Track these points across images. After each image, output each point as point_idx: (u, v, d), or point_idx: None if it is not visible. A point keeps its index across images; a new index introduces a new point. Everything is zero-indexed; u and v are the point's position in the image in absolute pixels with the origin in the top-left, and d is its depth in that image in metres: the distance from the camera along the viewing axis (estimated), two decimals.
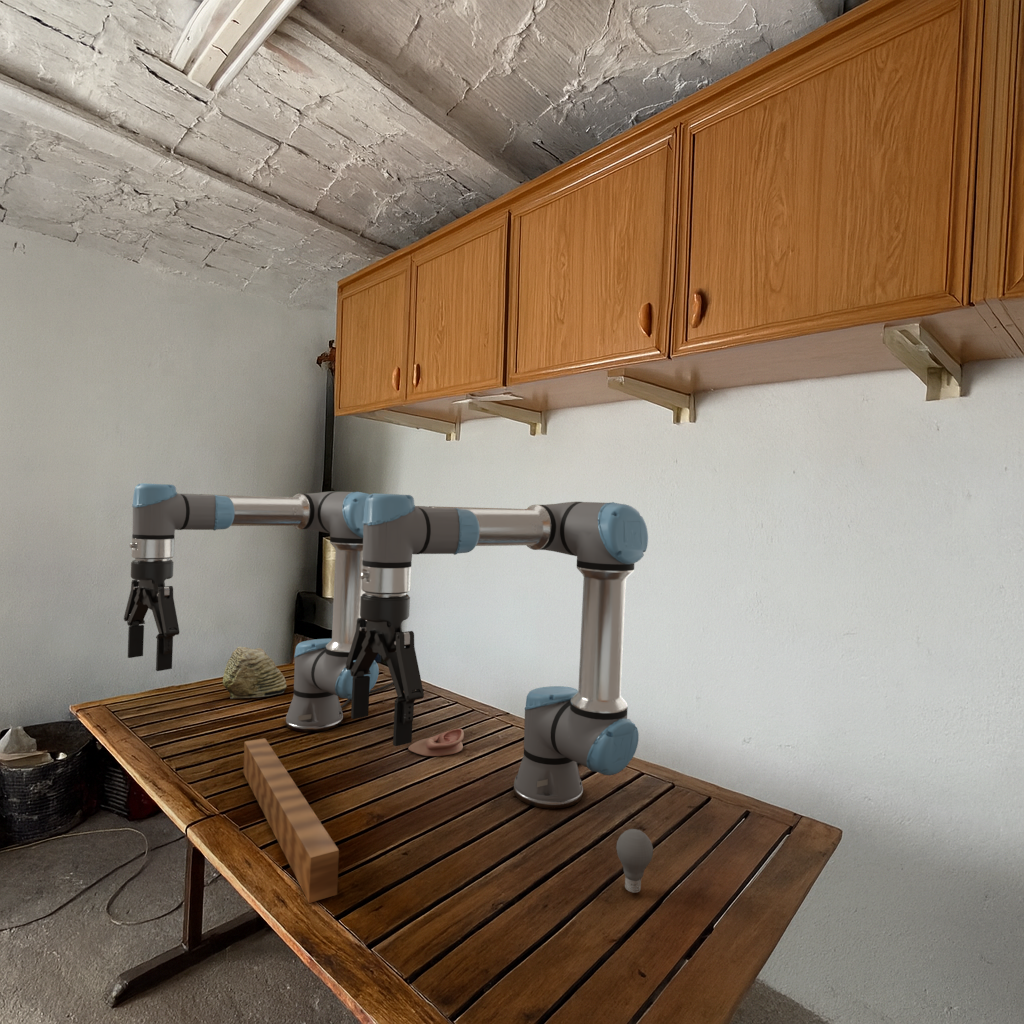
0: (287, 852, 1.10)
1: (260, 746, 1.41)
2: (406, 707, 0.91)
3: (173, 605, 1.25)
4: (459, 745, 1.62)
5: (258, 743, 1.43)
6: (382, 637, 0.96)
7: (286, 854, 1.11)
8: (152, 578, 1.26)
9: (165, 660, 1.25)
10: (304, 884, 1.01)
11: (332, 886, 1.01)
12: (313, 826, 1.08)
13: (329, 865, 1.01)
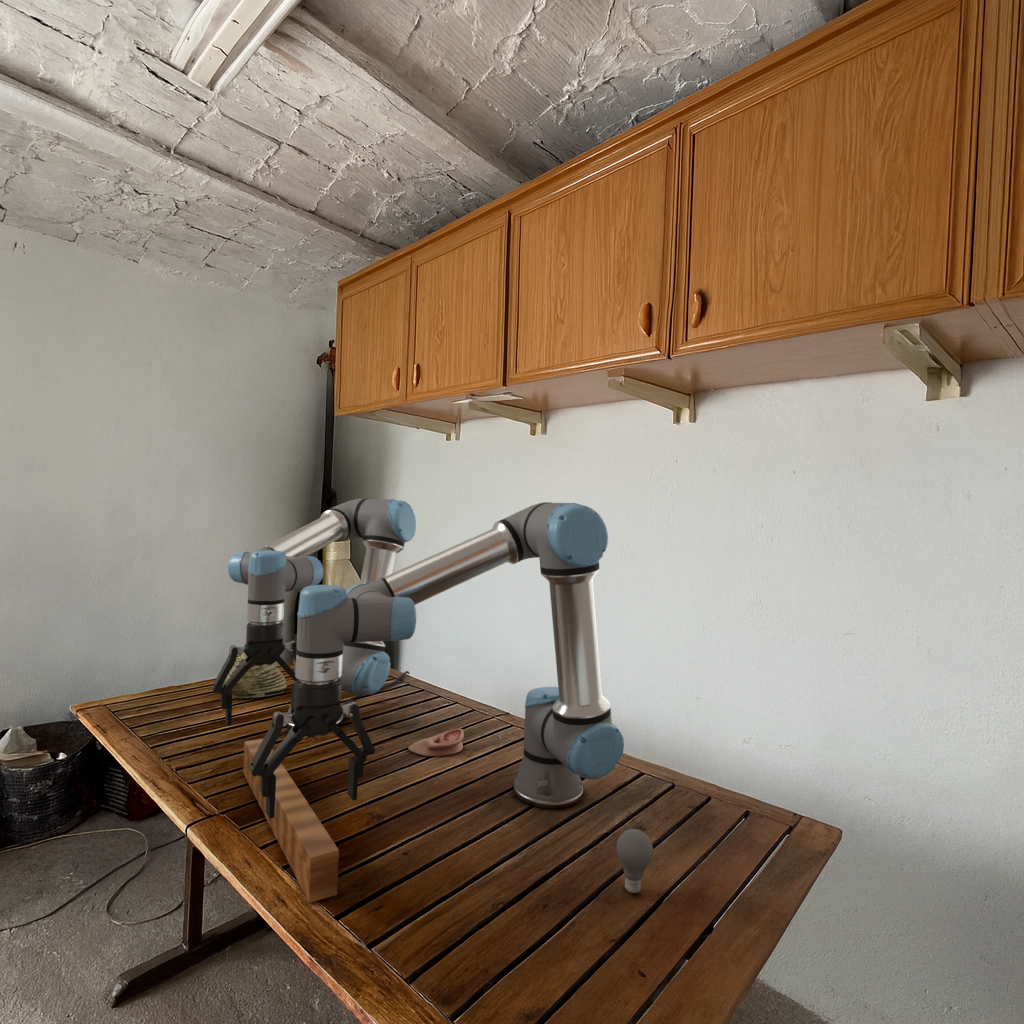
0: (287, 852, 1.10)
1: None
2: (363, 762, 1.10)
3: None
4: (459, 745, 1.62)
5: (258, 743, 1.43)
6: (330, 717, 1.05)
7: (286, 854, 1.11)
8: (282, 637, 1.39)
9: None
10: (304, 884, 1.01)
11: (332, 886, 1.01)
12: (313, 826, 1.08)
13: (329, 865, 1.01)
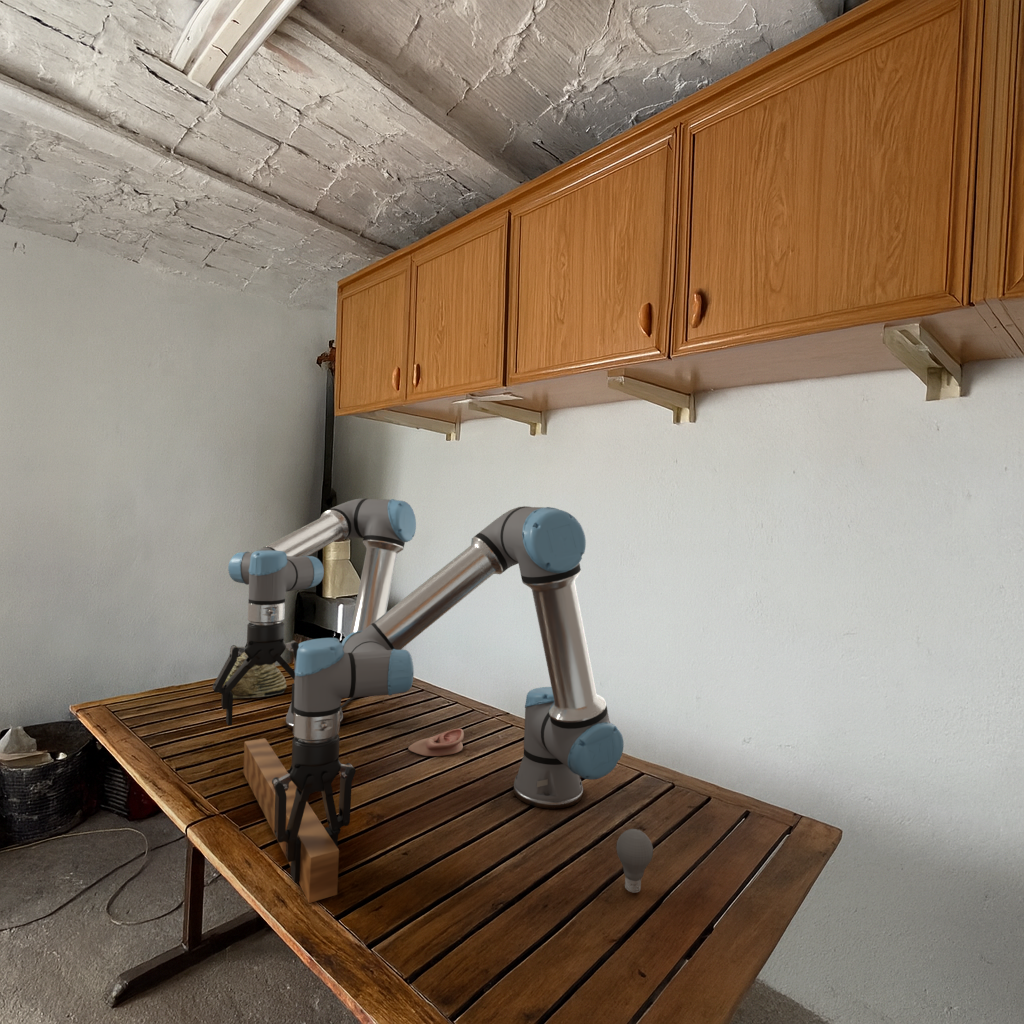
0: None
1: (260, 746, 1.41)
2: (337, 833, 1.08)
3: None
4: (459, 745, 1.62)
5: (258, 742, 1.43)
6: (328, 775, 1.06)
7: None
8: (283, 637, 1.39)
9: None
10: (304, 884, 1.01)
11: (332, 886, 1.01)
12: (313, 826, 1.08)
13: (329, 865, 1.01)
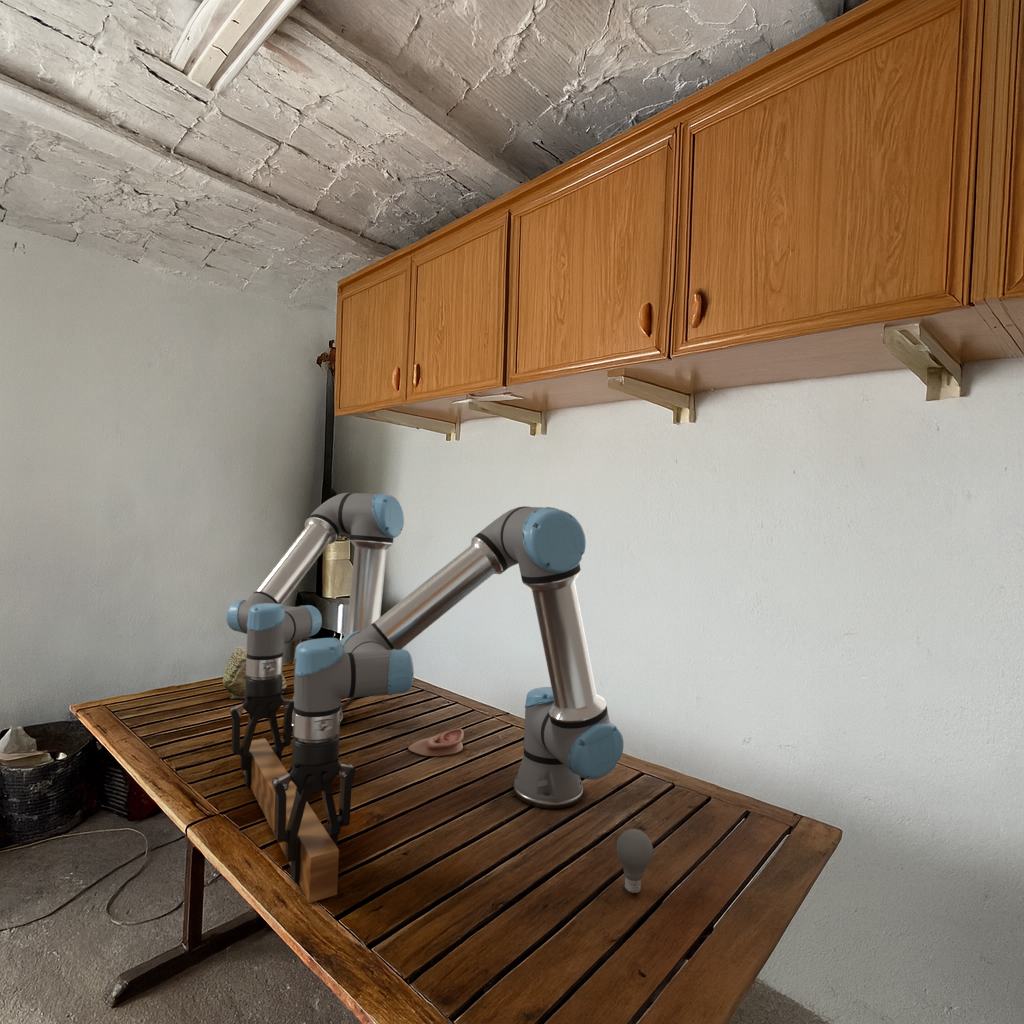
0: None
1: (260, 746, 1.41)
2: (337, 833, 1.08)
3: None
4: (459, 745, 1.62)
5: (258, 742, 1.43)
6: (328, 775, 1.06)
7: None
8: (281, 690, 1.39)
9: None
10: (304, 884, 1.01)
11: (332, 886, 1.01)
12: (313, 826, 1.08)
13: (329, 865, 1.01)
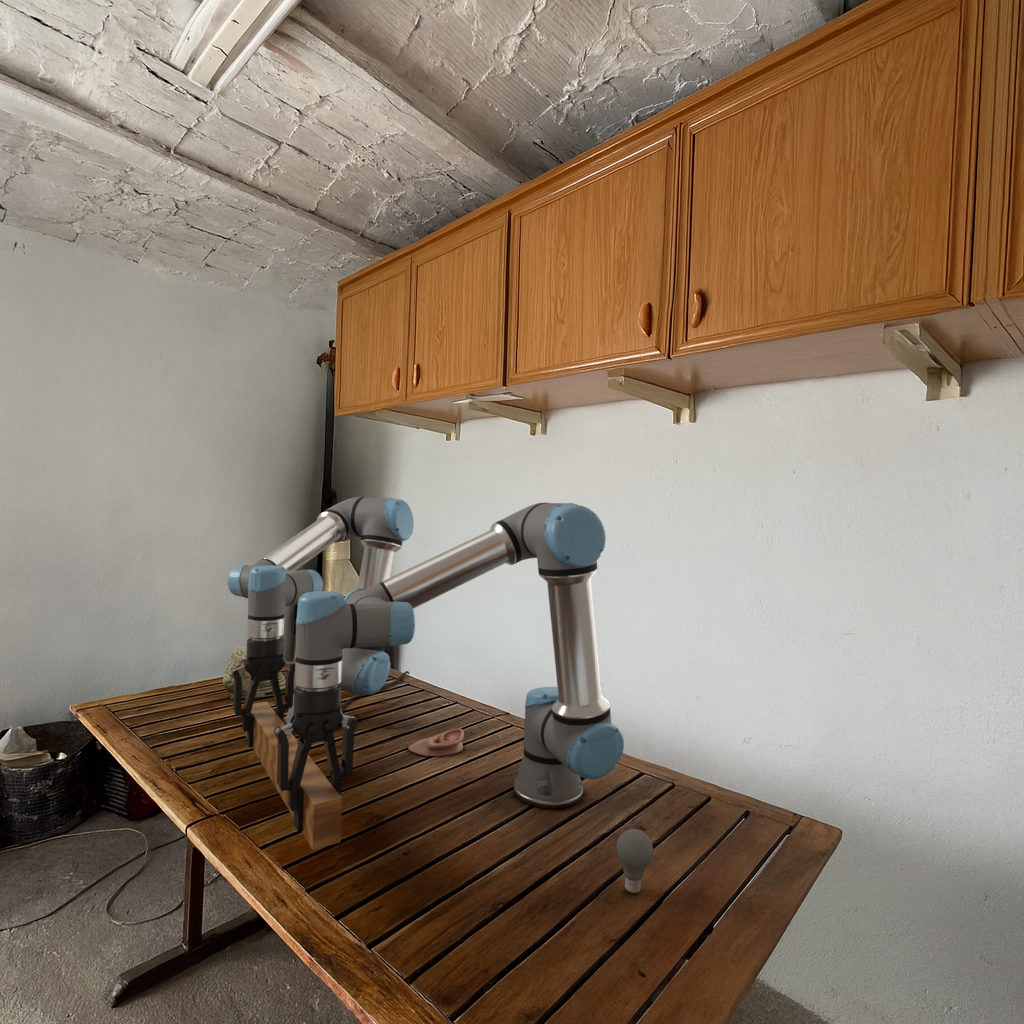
0: None
1: (262, 708, 1.41)
2: (340, 784, 1.08)
3: None
4: (459, 745, 1.62)
5: (260, 705, 1.43)
6: None
7: None
8: None
9: None
10: (307, 832, 1.01)
11: (335, 833, 1.01)
12: (315, 777, 1.08)
13: (332, 812, 1.01)
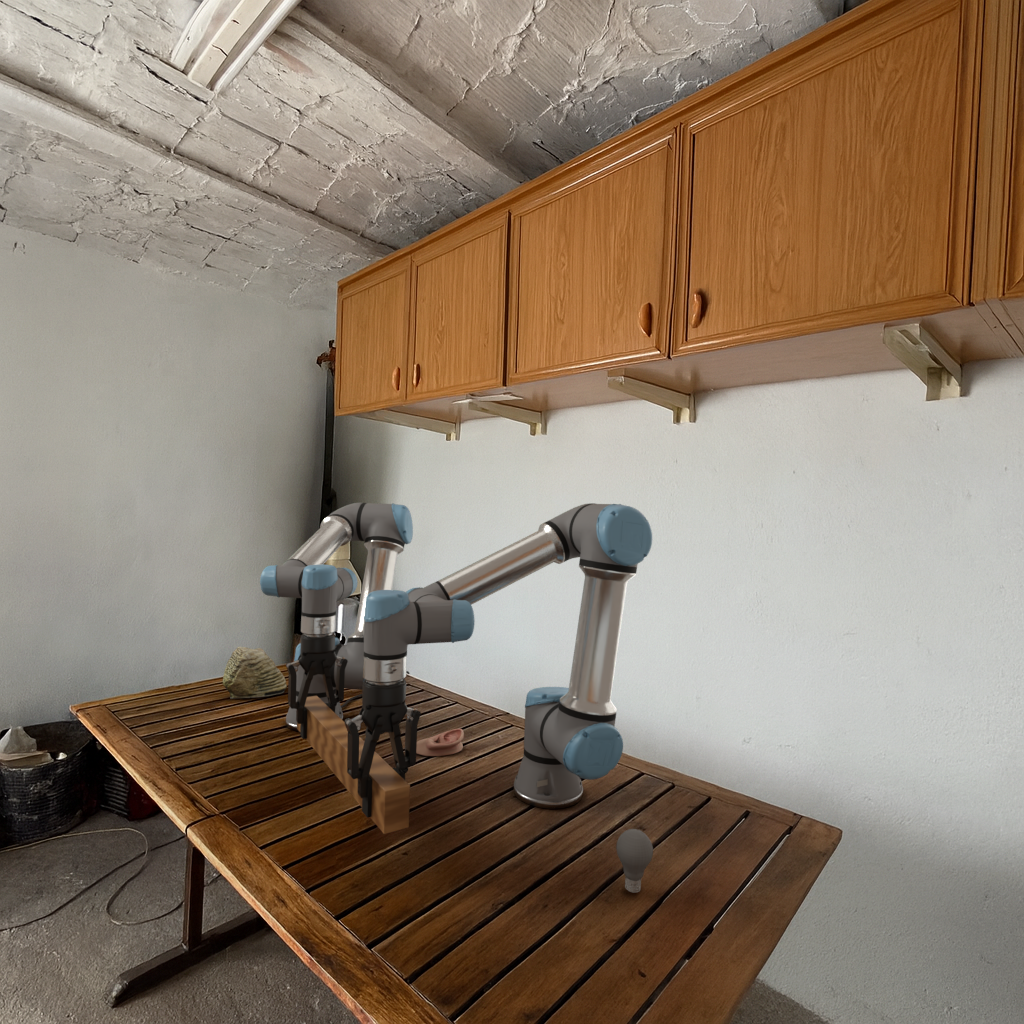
0: (355, 792, 1.16)
1: (314, 702, 1.46)
2: None
3: None
4: (459, 745, 1.62)
5: (311, 699, 1.48)
6: None
7: (354, 794, 1.17)
8: (334, 648, 1.45)
9: None
10: (377, 817, 1.07)
11: (404, 819, 1.07)
12: (381, 766, 1.14)
13: (402, 799, 1.06)
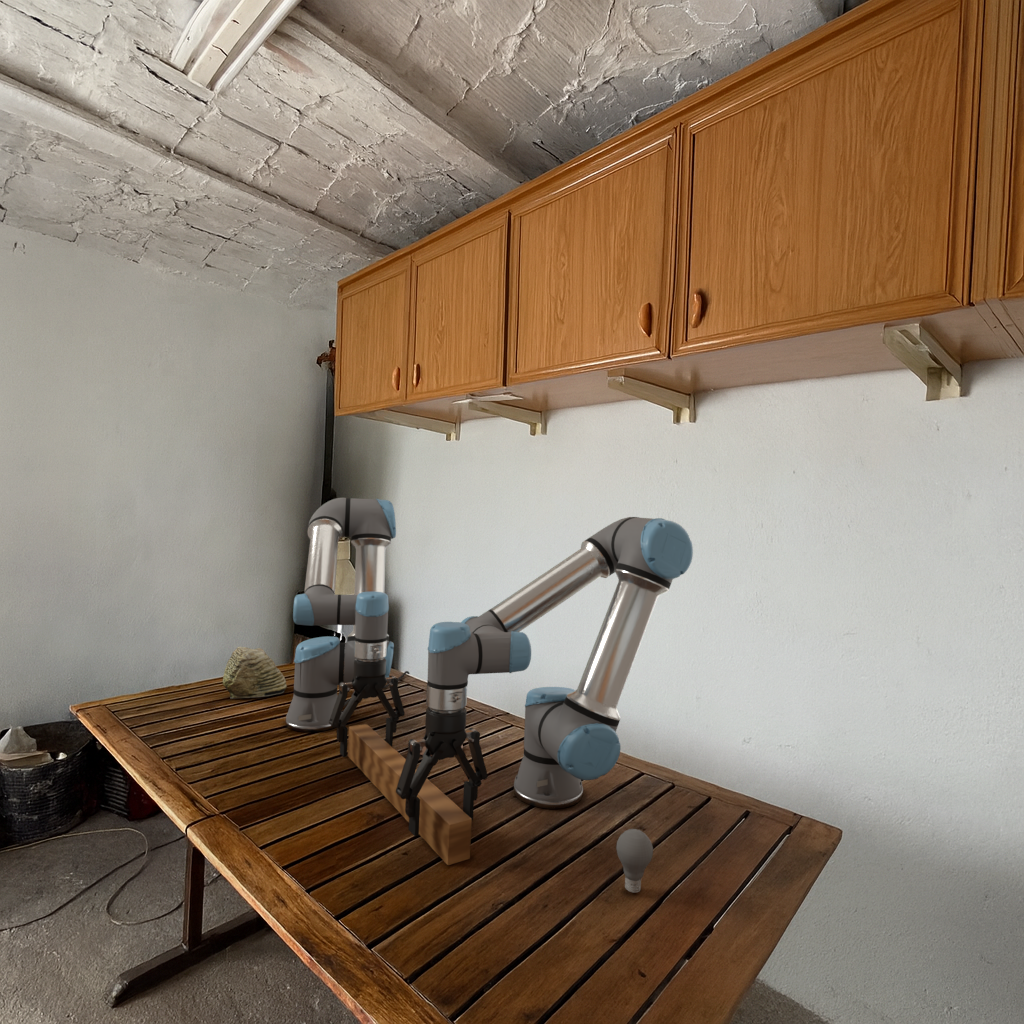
0: None
1: (365, 730, 1.53)
2: (477, 786, 1.21)
3: None
4: None
5: (362, 728, 1.54)
6: (457, 741, 1.17)
7: None
8: (385, 672, 1.51)
9: None
10: (440, 849, 1.13)
11: (465, 850, 1.13)
12: (441, 799, 1.20)
13: (464, 832, 1.12)
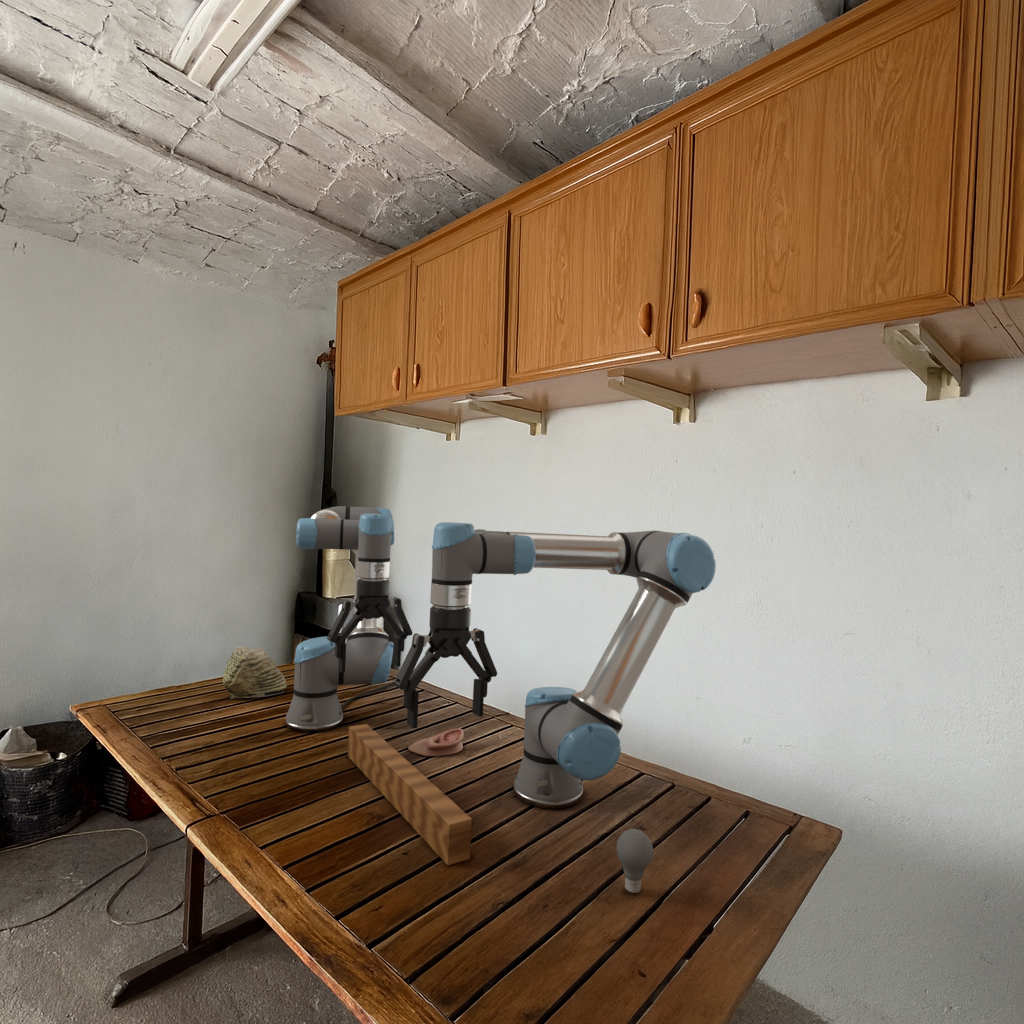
0: (415, 823, 1.22)
1: (365, 730, 1.53)
2: (487, 683, 1.21)
3: None
4: (459, 745, 1.62)
5: (362, 728, 1.54)
6: None
7: (414, 825, 1.23)
8: (388, 593, 1.50)
9: None
10: (440, 849, 1.13)
11: (465, 850, 1.13)
12: (441, 799, 1.20)
13: (464, 832, 1.12)
